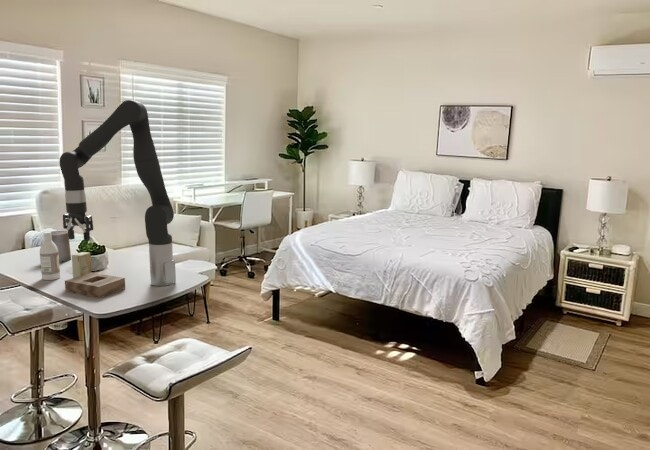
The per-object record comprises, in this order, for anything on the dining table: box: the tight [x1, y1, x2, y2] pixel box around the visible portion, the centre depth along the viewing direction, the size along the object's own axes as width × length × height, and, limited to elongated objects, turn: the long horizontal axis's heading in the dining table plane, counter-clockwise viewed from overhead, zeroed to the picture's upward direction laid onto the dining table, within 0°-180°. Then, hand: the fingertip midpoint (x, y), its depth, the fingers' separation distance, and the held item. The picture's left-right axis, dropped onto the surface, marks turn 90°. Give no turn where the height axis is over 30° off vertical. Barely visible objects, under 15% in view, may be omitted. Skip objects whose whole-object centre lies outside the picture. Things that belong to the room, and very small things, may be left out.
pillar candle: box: [50, 230, 72, 263], centre depth 246 cm, size 10×10×15 cm
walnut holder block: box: [64, 272, 126, 299], centre depth 202 cm, size 18×13×4 cm
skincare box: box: [71, 251, 92, 278], centre depth 212 cm, size 6×4×12 cm
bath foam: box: [39, 231, 61, 281], centre depth 216 cm, size 7×7×20 cm
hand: (79, 240), depth 210 cm, fingers open, 8 cm apart
